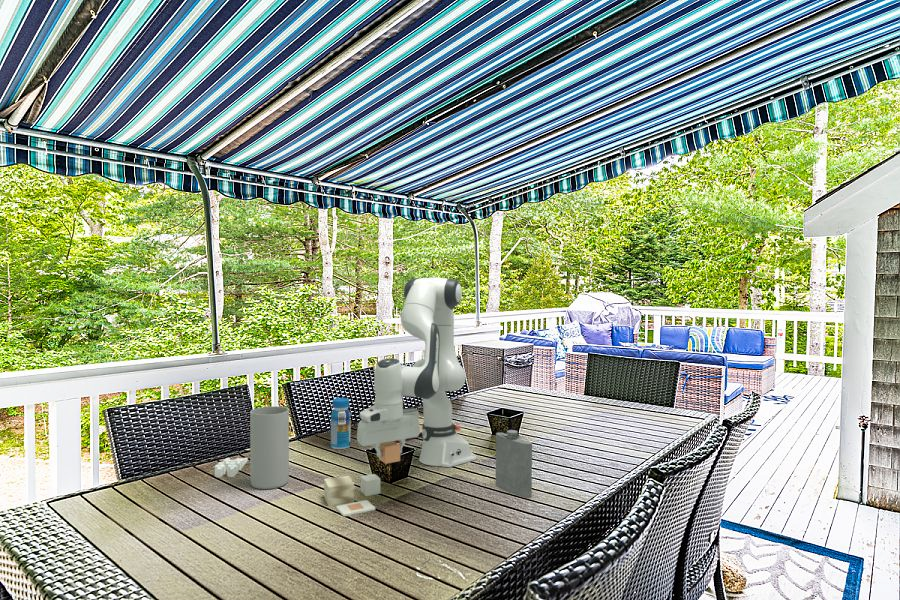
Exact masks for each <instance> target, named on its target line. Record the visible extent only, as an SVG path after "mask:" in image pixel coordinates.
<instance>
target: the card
mask: <svg viewBox="0 0 900 600" xmlns="http://www.w3.org/2000/svg"><path fill="white" fill-rule="evenodd" d="M335 510H337V511H338V512H339V513H340V515H342V517H348V516H353V515H358V514H361V513H367V512H372V511H376V506H374V505H373V504H372V503H371V502H370V501H369V500H367V499H364V500H360V501H354V503H348V504H340V505H335Z"/></svg>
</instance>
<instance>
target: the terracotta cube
mask: <svg viewBox="0 0 900 600" xmlns="http://www.w3.org/2000/svg"><path fill="white" fill-rule="evenodd" d="M378 448H379V449H380V450H382V451H383V457H378V460H380V461H381V462H383V464H385V465H387V464H391V463H397V462H401V453H400V445H399V443H398V442H394V441H391V442H385V443H380V447H378Z"/></svg>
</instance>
